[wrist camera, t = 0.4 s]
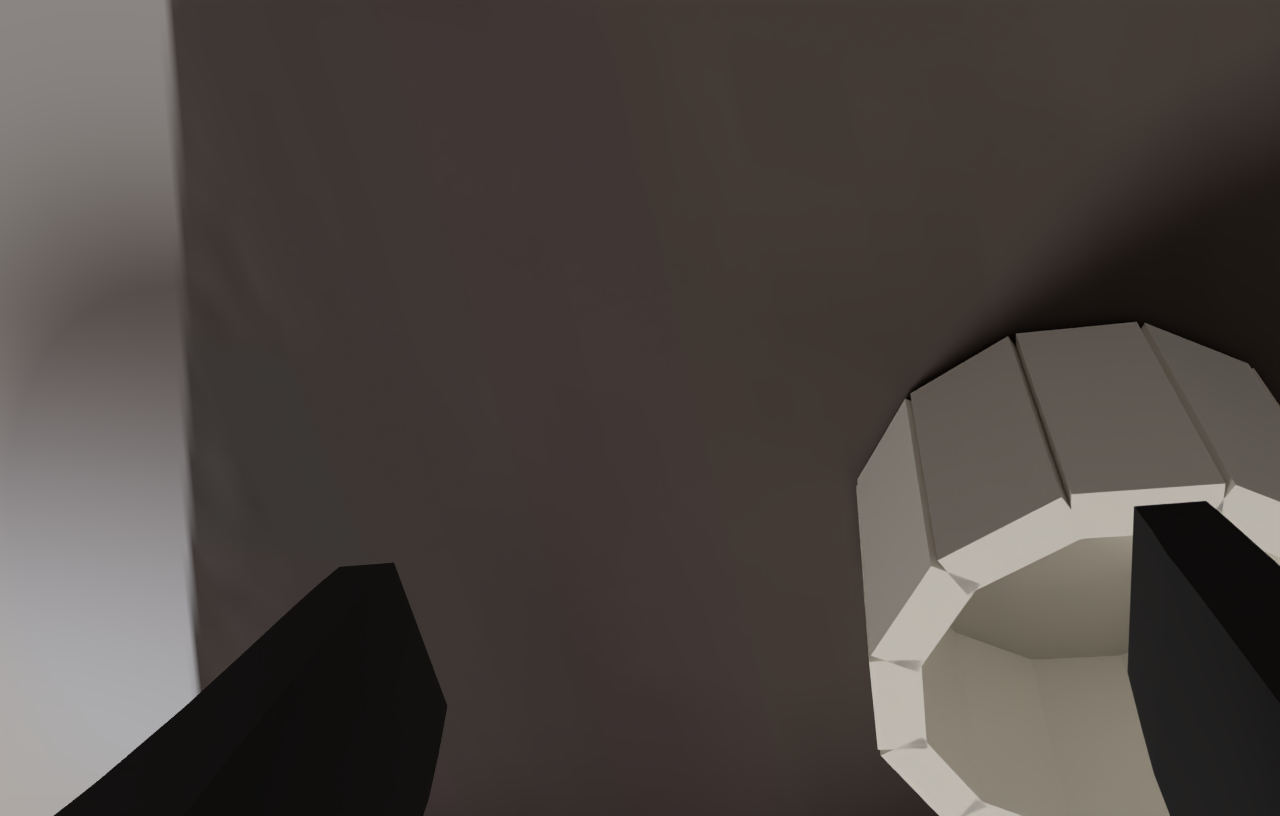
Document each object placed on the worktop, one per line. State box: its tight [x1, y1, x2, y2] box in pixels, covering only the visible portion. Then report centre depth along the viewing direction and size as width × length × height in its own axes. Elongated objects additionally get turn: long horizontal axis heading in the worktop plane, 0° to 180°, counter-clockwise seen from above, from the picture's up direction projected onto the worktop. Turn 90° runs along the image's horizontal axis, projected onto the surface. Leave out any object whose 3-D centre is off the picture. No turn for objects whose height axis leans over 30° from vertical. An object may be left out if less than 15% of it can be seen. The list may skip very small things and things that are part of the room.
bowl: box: [856, 322, 1280, 816], centre depth 20 cm, size 8×8×5 cm
